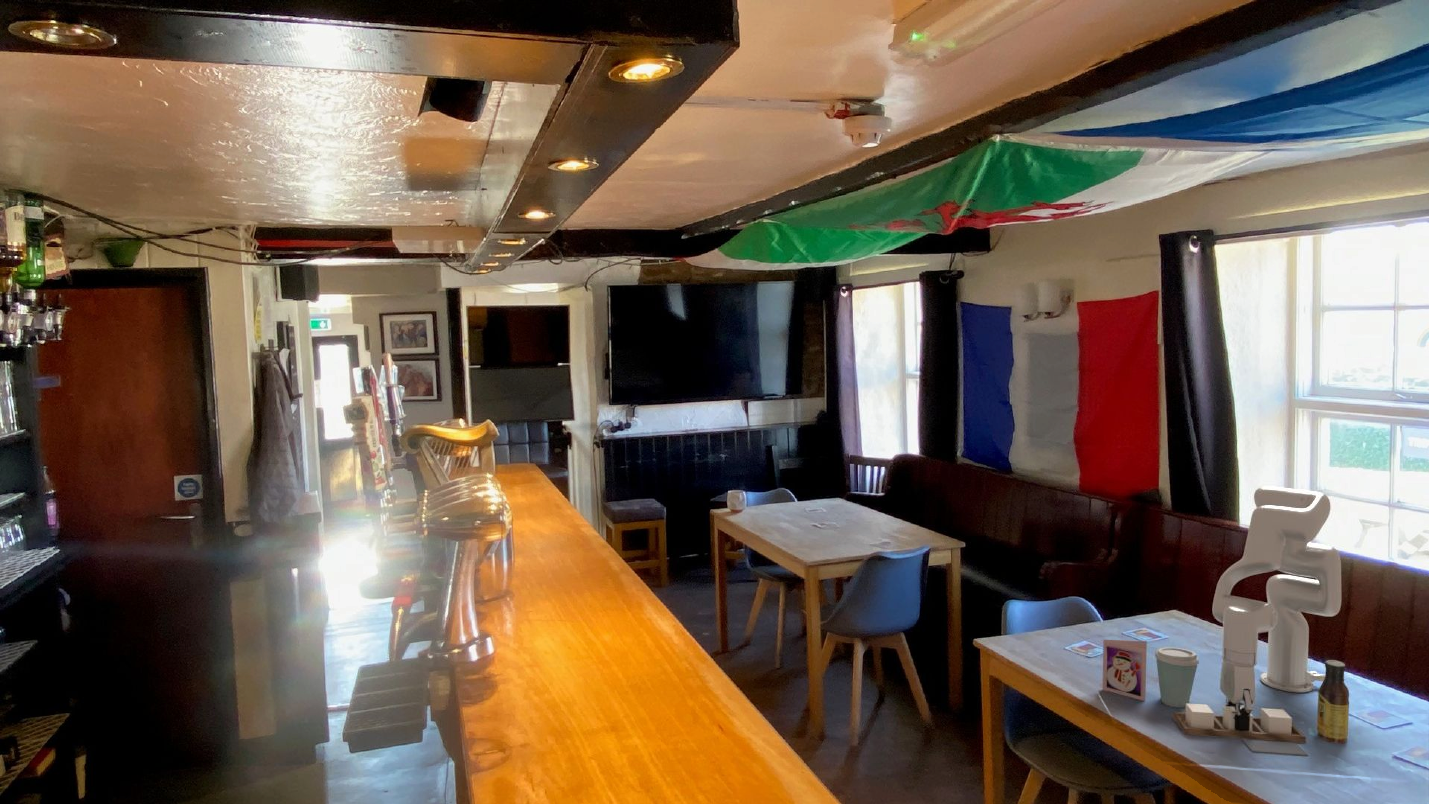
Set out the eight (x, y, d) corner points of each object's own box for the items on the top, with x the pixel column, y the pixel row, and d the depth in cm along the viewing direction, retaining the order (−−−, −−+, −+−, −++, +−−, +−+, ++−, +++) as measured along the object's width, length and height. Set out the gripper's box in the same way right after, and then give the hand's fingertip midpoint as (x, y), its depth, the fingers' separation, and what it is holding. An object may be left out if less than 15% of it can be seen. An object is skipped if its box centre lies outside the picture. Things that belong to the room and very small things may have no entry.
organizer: (1288, 727, 221) (1288, 719, 221) (1305, 744, 212) (1306, 736, 211) (1172, 719, 226) (1173, 711, 226) (1185, 736, 217) (1185, 728, 217)
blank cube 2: (1282, 728, 219) (1282, 709, 219) (1291, 737, 214) (1291, 718, 214) (1260, 727, 220) (1261, 708, 220) (1268, 736, 215) (1269, 716, 215)
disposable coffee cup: (1144, 699, 239) (1145, 646, 237) (1173, 693, 242) (1174, 641, 241) (1177, 715, 229) (1178, 660, 228) (1206, 708, 233) (1208, 654, 231)
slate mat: (1296, 746, 211) (1296, 743, 211) (1307, 758, 205) (1307, 754, 205) (1242, 742, 213) (1242, 739, 213) (1252, 754, 207) (1252, 750, 207)
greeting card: (1101, 691, 244) (1102, 640, 243) (1111, 684, 249) (1112, 633, 248) (1144, 703, 236) (1145, 650, 235) (1153, 695, 241) (1154, 643, 240)
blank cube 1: (1206, 723, 223) (1207, 704, 222) (1213, 732, 218) (1214, 713, 217) (1185, 722, 224) (1185, 703, 223) (1192, 730, 219) (1192, 711, 218)
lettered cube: (1243, 725, 221) (1244, 706, 220) (1252, 735, 216) (1252, 715, 216) (1222, 724, 222) (1223, 705, 221) (1230, 733, 217) (1230, 714, 217)
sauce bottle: (1317, 731, 218) (1320, 655, 217) (1348, 738, 214) (1351, 660, 213) (1315, 741, 213) (1318, 663, 212) (1346, 748, 209) (1349, 669, 208)
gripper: (1211, 642, 226) (1209, 709, 228) (1236, 667, 210) (1234, 739, 211) (1242, 644, 225) (1240, 711, 226) (1270, 669, 208) (1268, 741, 210)
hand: (1237, 724), depth 219 cm, fingers closed on lettered cube, 5 cm apart
